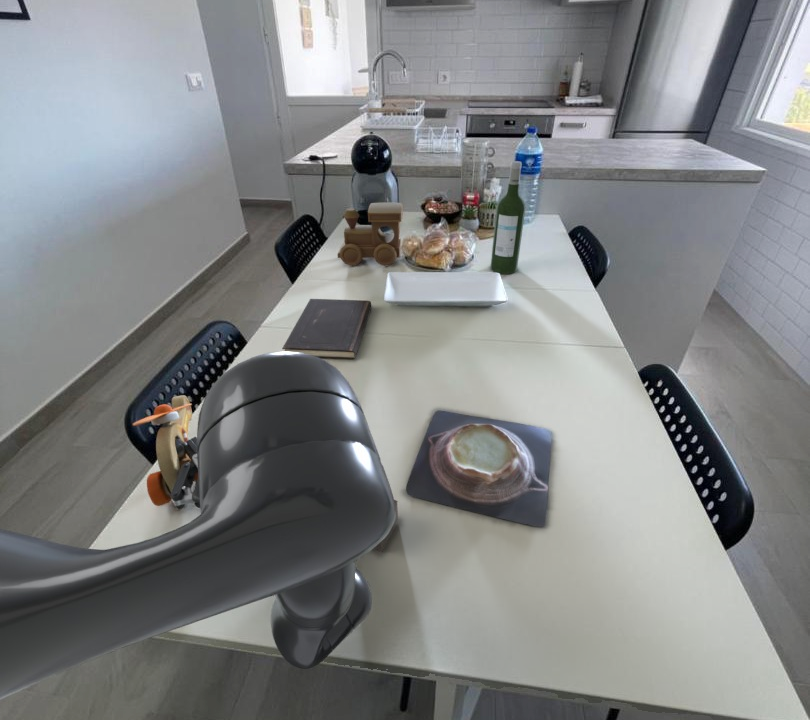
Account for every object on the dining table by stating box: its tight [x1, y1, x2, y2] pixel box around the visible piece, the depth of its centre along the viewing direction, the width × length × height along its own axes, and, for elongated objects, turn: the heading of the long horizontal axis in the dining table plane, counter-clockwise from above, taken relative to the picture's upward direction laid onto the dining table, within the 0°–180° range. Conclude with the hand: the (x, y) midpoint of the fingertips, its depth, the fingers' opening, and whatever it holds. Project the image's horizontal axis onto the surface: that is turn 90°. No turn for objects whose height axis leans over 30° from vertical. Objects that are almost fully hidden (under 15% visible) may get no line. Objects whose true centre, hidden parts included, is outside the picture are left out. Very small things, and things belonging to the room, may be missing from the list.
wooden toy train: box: [337, 201, 404, 267], centre depth 136 cm, size 20×11×17 cm, turn 88°
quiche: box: [405, 409, 552, 528], centre depth 72 cm, size 21×20×4 cm
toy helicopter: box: [132, 394, 198, 507], centre depth 70 cm, size 8×21×14 cm, turn 21°
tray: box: [383, 271, 509, 307], centre depth 119 cm, size 17×31×4 cm, turn 88°
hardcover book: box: [282, 298, 373, 360], centre depth 106 cm, size 16×23×2 cm
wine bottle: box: [490, 160, 527, 275], centre depth 126 cm, size 8×8×30 cm
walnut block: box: [373, 499, 399, 553], centre depth 61 cm, size 5×5×5 cm
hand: (192, 442), depth 67 cm, fingers closed
